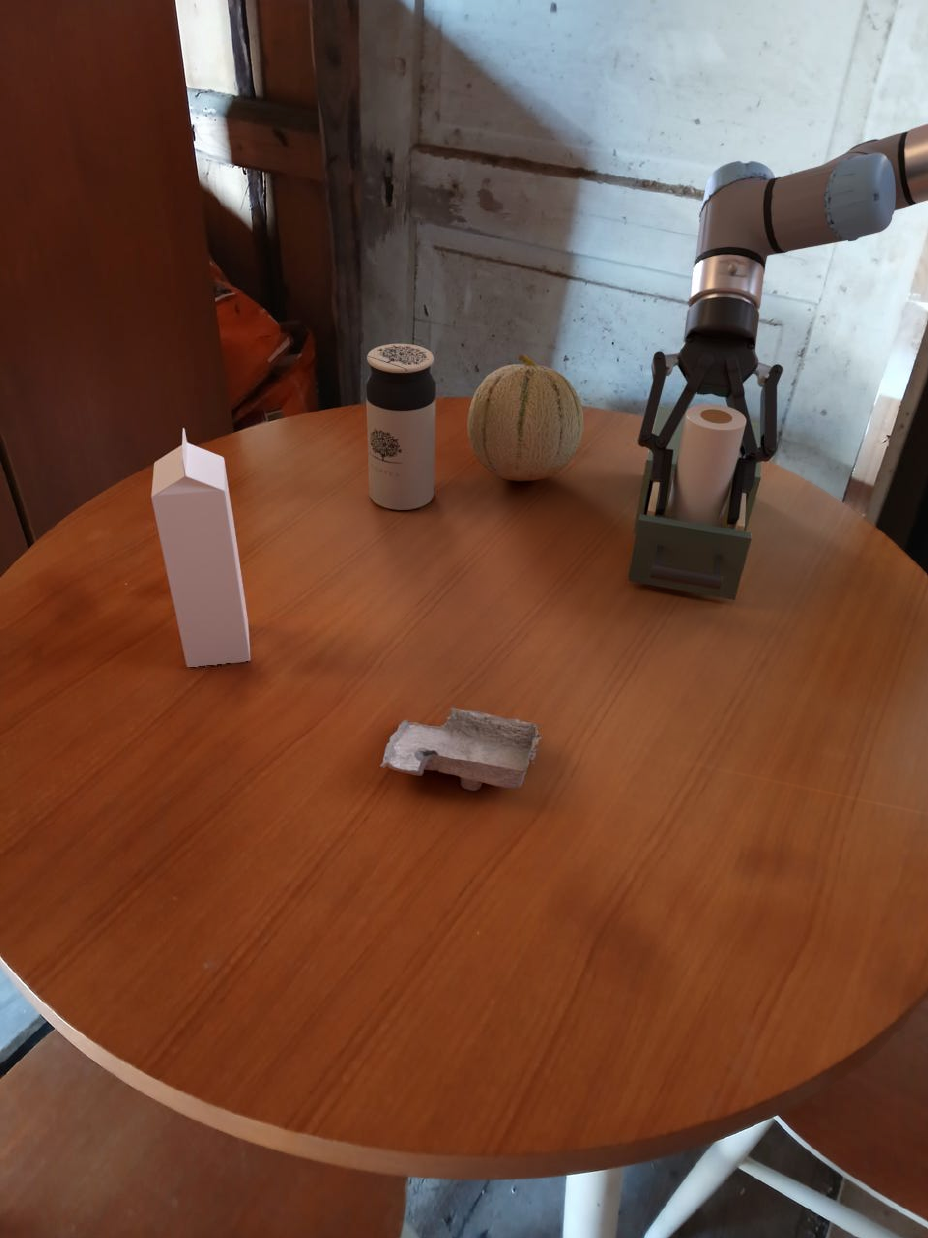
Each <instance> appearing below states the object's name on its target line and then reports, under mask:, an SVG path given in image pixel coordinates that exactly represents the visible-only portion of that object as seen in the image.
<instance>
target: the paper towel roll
mask: <svg viewBox="0 0 928 1238" xmlns="http://www.w3.org/2000/svg"><path fill="white" fill-rule="evenodd" d="M745 425H746V418H745V416H744V415H743V414H742V413H740V412H739V411H737V410H735V409H732V408H730V407H728V406H727V405H721V404H714V403H713V404H712V403H701V404H696V405H693V406H691V407H688V409H687V412H686V417H685V422H684V427H683V431H682V436H681V441H680V446H679V451H678V456H677V461H676V466H675V471H674V476H673V481H672V486H671V491H670V496H669V501H668V506H667V511H666V516H665V518H666V519H672V520H678V521H684V522H691V523H697V524H703V525H709V526H715V527H720V526H721V522H722V518H723V514H724V510H725V506H726V502H727V498H728V494H729V490H730V486H731V482H732V478H733V474H734V470H735V466H736V462H737V458H738V454H739V450H740V446H741V442H742V438H743V434H744V429H745Z"/></svg>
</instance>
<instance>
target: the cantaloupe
mask: <svg viewBox="0 0 928 1238" xmlns="http://www.w3.org/2000/svg"><path fill="white" fill-rule="evenodd" d="M518 360H519V361H522V362H523V363H512V364H509V365H503V366H501V367H499V368H497V369H496V370H494V371H492V372H490V373H489V374H488V375H487V376H486V377H485V378H484V379H483V381H482V382H481V383H480V385H479V386H478V387H477V388H476V390H475V392H474V394H473V398H472V399H471V402H470V406H469V410H468V414H467V437H468V440H469V443H470V447H471V450H472V452H473V453H474V455H475V457H476V458H477V460H478V462H480V464H481V465H482V466H483V467H484V468H486V470H488V471H489V472H490V473H492V474H494V475H495V476H497V477H498V478H500V479H503V480H506V481H513V482H514V481H515V482H527V481H528V482H530V481H537V480H543V479H547V478H549V477H551V476H553V475H555V474H557V473H558V472H560V471H561V470H562V469H563V468H565V467H566V466H567V465H568V464H569V463H570V462H571V460H572V459H573V458H574V457H575V455H576V452H577V451H578V449H579V446H580V442H581V440H582V436H583V432H584V414H583V413H584V412H583V406H582V403H581V400H580V398H579V395H578V392H577V391H576V389H575V388H574V387H573V385H572V383H571V382H570V381H569V379H567V378H566V376H564V375H563V374H562V373H560V372H558V371H557V370H555V369H553V368H551V367H548V366H544V365H541V364H540V365H539V364H537V363H535V362H534V361H533V360H532V359H531V358H530V357H529V356H527V355H525V354H519V358H518Z"/></svg>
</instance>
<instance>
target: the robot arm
mask: <svg viewBox="0 0 928 1238" xmlns="http://www.w3.org/2000/svg"><path fill="white" fill-rule="evenodd" d="M925 202H928V123H926V124H922V125H919V126H917V127H916V126H915V127H912V128H911V129H909V130H907V131H903V132H899V133H895V134H892V135H889V136H886V137H883V138H880V139H877V138H874V139H873V138H872V139H870V140H867V141H863V142H862V143H859V144H856V145H854V146H852V147H851V148H849V150H847V151H845V152H844V153H842V154H840V155H839V156H837V157H835V158H833V159H830V160H829V161H827V162H825V163H823V164H821V165H818V166H815V167H811V168H808V169H804V170H800V171H797V172H794V173H790V174H787V175H782V176H775V173H774V172H773V170H772V169H771V168H770V167H768V166H767V165H765V164H763V163H761V162H758V161H753V160H750V161H748V162H743V161H741V160H736V161H732V162H728V163H726V164H723V165H721V166H720V167H718V168H717V169H716V170H715V171H714V172H712V174H711V175H710V177H709V178H708V180H707V182H706V183H705V189H704V193H703V198H702V203H701V206H700V210H699V213H698V217H699V219H698V232H697V233H698V234H697V241H696V250H695V260H694V264H693V269H692V275H691V282H690V289H689V296H688V308H689V309H688V310H687V312H686V318H685V327H684V334H683V342H682V346H681V348H679V350H678V351H677V353H669V354H665V353H664V352H663V351H660V350H659V351H656V352H655V353H654V354H653V356H652V361H651V365H650V366H651V367H650V368H651V377H652V383H651V387H650V391H649V395H648V399H647V402H646V406H645V410H644V414H643V418H642V422H641V426H640V430H639V434H638V437H637V445H638V446H639V447H641V448H647V450H649V449H650V450H651V451H652V453H653V458H652V465H651V473H650V479H651V482H658V483H660V484H659V492H658V499H657V507H656V514H655V515H660V516H663V514H664V512H665V510H666V503H667V496H668V488H669V481H670V473H671V466H672V458H673V451H674V449H666V447H667V445H668V444H669V442H670V440H671V438H672V436H673V434H674V433H675V431H676V429H677V427H678V425H679V423H680V422H681V420H682V418H683V416H684V414H685V412H686V411H687V410H688V409H689V408H690V405H691V403H692V402H693V400H694V398H695V396H696V395H701V396H706V395H713V396H716V397H718V398H724V399H725V403H726V407H730V408H732V409H735V410H737V411H739V412H740V413H742V414H743V415H744V416H745V418H746V425H745V429H744V434H743V438H742V442H741V446H740V454H741V457H739V459H738V460H737V462H736V466H735V470H734V474H733V478H732V486H731V494H730V502H729V510H728V517H727V524H730V525H734V524H735V523H736V522H737V521H738V520H739V516H740V508H741V500H742V493H746V494H748V493H749V492H750V491H751V490H752V488H753V486H754V479H755V471H756V464H757V463H758V462H761V463H762V462H765V463H766V462H769V461H770V460H771V459H772V458H773V457H774V456H775V454H776V453H777V451H778V385H779V382H780V381H781V378H782V375H783V373H784V367H783V366H782V365H781V364H779V363H777V364H773V365H772V366H771V365H768V364H765V363H762V362H759V358H758V355H757V352H756V344H757V336H758V329H759V328H758V327H759V319H760V312H759V310H760V308H761V304H762V295H763V285H764V278H765V277H764V276H765V271H766V264H767V260H768V257H769V256H773V255H780V254H786V253H788V252H793V251H797V250H804V249H807V248H813V247H818V246H819V247H820V246H825V245H829V244H834V243H841V242H846V241H847V242H856V241H857V240H859V239H860V238H863V237H867V236H872V235H875V234H878V233H879V234H880V233H881V232H884V231H885V230H886V229H888V228H889V226H890V225H891V223H892V221H893V215H894V214H895V212H896V211H898V210H902V209H905V208H908V207H911V206H915V205H918V204H921V203H925ZM674 367H677V368H678V369H679V371H680V373H681V374H682V376H683V379H684V380H685V381H686V384H685V387H684V388H683V390H682V392H681V394H680V396H679V398H678V399H677V401H676V403H675V405H674V407H673V408H672V409H673V410H672V412H671V414H670V416H669V418H668V420H667V421H666V423H665V425H664V427H663V429H662V431H661V433H660V434H659V436H657V435H655V434H653V429H654V424H655V420H656V416H657V412H658V407H660V402H661V398H662V395H663V390H664V387H665V383H666V379H667V377H669V376H670V375H672V372H673V369H674ZM753 375H755V376H756V378H757V381H756V382H757V383H756V384H757V386H759V387H760V388H761V390H760V394H759V395H760V397H759V398H760V399H759V421H760V447H757V444H756V440H755V436H754V432H753V428H752V424H751V420H752V419H751V416H750V412H749V409H748V404H747V400H746V391H745V387H744V384H745V382H746V381H748V379H749V378H750V377H751V376H753Z"/></svg>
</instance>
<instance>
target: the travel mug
mask: <svg viewBox="0 0 928 1238" xmlns="http://www.w3.org/2000/svg"><path fill="white" fill-rule="evenodd" d="M366 360H367V362H368V364H369V366H370V373H369V375H368V377H367V379H366V381H365V399H366V400H365V401H366V426H367V456H368V457H367V459H368V484H369V485H368V486H369V489H368V490H369V497H370V499H371V500H372V501H373V502H374V503H375V504H376V505H378V506H381V507H383V508H386V509H390V510H397V511H402V510H403V511H407V510H414V509H418V508H421V507H424V506H425V505H428V504H429V503H430V502H431V501H432V500H433V498H434V497H435V459H436V458H435V457H436V455H435V453H436V442H435V441H436V400H437V399H436V396H437V394H436V393H437V392H436V391H437V388H436V387H437V383H436V381H435V379H434V377H433V375H432V373H431V367H432V365H433V363H434V361H435V356H434V354H433V353H432V352H431V351H430V350H429V349H427V348H425V347H423V346H420V345H417V344H409V343H389V344H383V345H380V346H377V347H374V348H373V349H371V350H370V351H369V352H368V354H367V356H366Z"/></svg>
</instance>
